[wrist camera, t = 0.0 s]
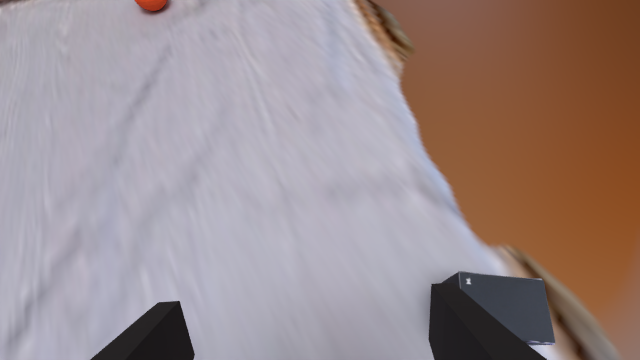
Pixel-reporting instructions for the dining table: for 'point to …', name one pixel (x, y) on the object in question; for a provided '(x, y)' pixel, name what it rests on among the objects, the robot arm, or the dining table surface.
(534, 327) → the box
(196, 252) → the dining table surface
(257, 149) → the dining table surface
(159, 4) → the clementine
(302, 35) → the dining table surface
